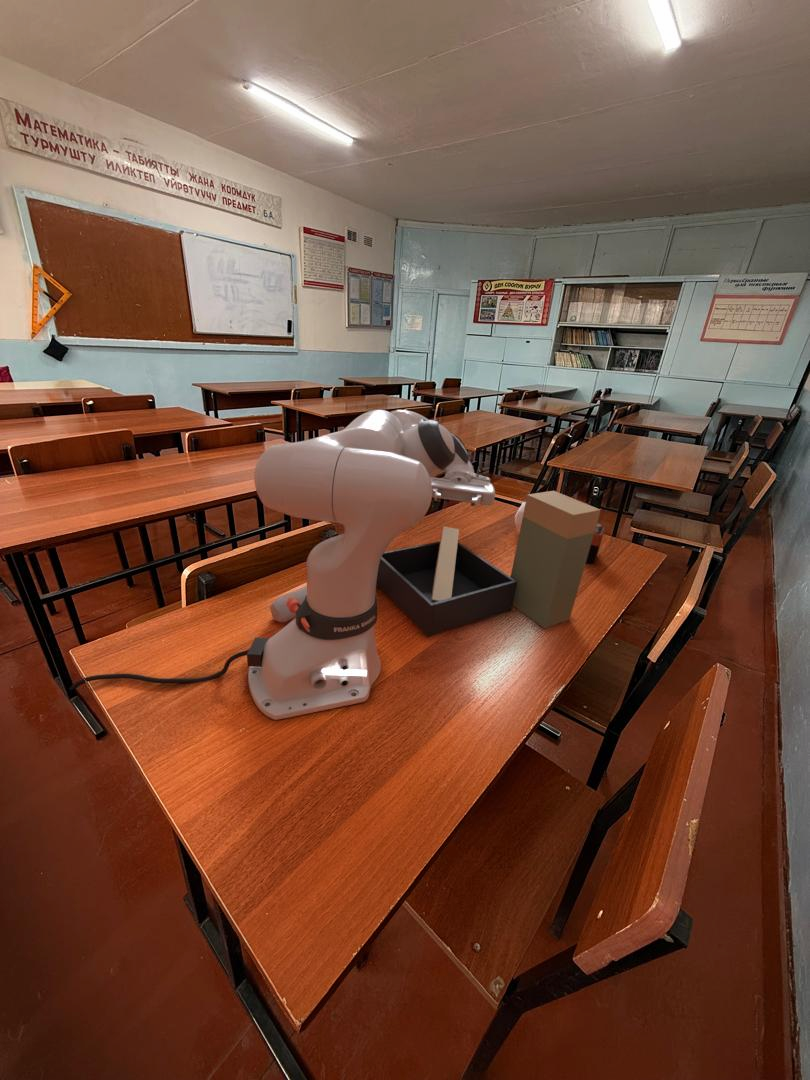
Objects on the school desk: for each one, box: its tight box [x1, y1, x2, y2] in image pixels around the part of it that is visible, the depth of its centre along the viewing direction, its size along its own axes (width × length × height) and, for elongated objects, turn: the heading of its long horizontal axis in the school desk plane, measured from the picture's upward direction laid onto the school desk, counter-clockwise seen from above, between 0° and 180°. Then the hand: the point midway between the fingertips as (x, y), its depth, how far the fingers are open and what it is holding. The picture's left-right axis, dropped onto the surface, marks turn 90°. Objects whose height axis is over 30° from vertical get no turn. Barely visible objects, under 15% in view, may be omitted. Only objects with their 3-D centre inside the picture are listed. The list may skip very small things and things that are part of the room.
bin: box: [376, 540, 517, 638], centre depth 100 cm, size 23×24×8 cm
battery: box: [586, 523, 605, 565], centre depth 123 cm, size 4×7×10 cm, turn 150°
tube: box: [269, 586, 307, 624], centre depth 94 cm, size 5×5×25 cm
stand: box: [510, 490, 601, 630], centre depth 93 cm, size 8×12×26 cm, turn 31°
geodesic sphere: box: [514, 501, 526, 534], centre depth 130 cm, size 15×14×14 cm
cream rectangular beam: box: [431, 525, 460, 603], centre depth 101 cm, size 4×24×4 cm, turn 173°
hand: (455, 500), depth 112 cm, fingers open, 8 cm apart
